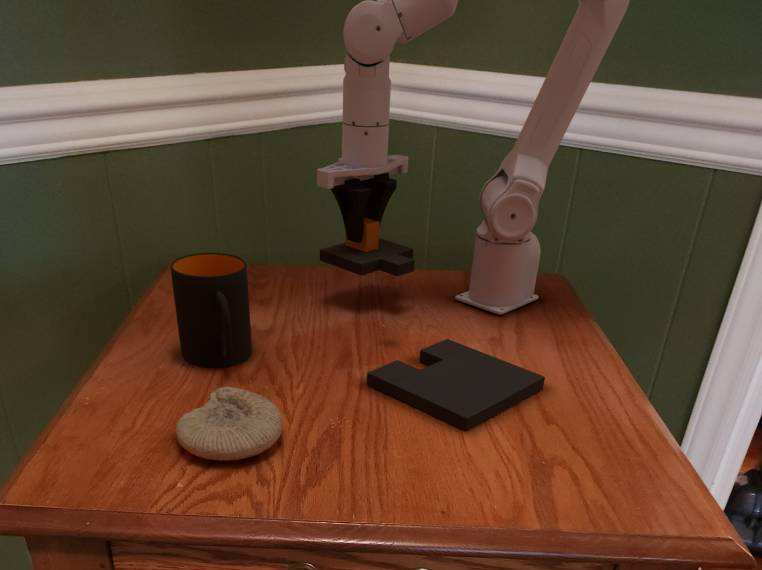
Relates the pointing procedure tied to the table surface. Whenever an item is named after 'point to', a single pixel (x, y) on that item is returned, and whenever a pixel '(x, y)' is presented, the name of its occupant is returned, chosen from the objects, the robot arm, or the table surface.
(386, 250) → the black pad
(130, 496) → the table surface
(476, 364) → the charcoal mat
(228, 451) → the fossil
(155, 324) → the table surface
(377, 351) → the table surface
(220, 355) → the mug
